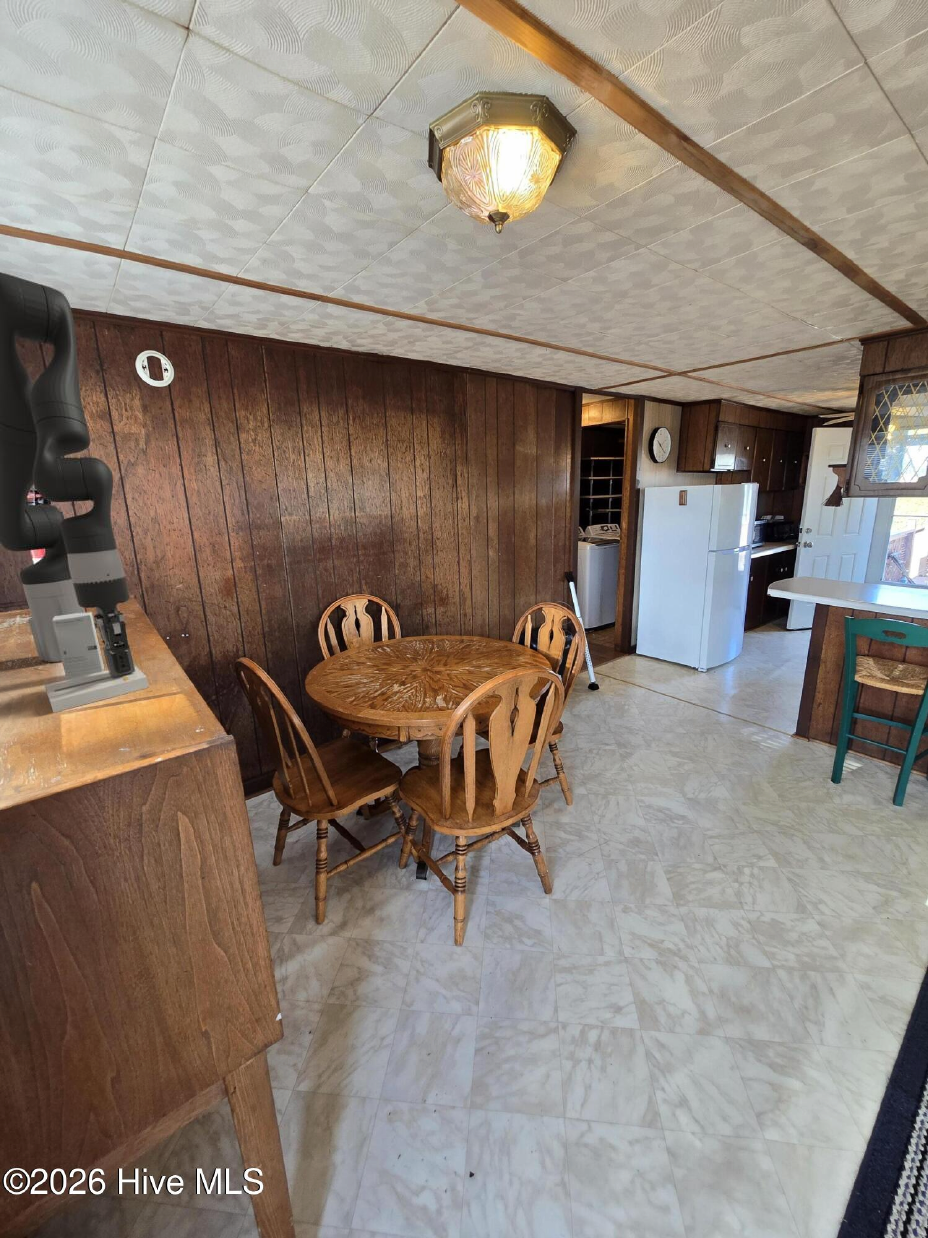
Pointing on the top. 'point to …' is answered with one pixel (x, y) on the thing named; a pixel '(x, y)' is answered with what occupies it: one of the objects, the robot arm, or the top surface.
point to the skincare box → (78, 644)
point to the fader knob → (111, 664)
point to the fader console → (93, 688)
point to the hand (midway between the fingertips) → (121, 669)
